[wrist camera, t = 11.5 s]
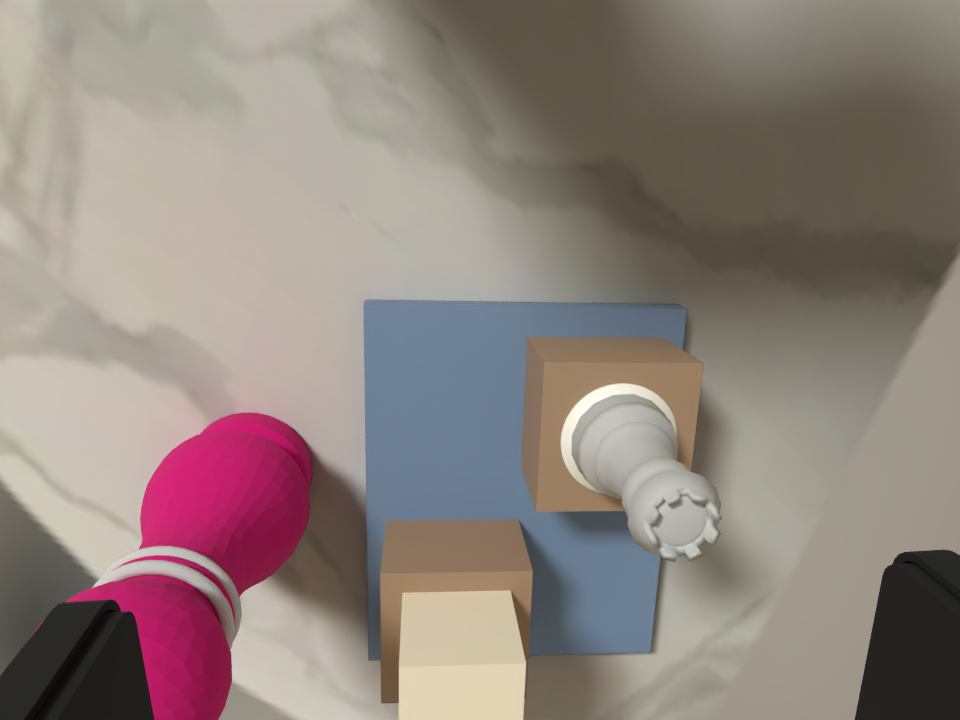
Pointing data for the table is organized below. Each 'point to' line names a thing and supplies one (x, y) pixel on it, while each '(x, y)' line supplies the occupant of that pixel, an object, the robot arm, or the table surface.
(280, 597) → the table surface
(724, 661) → the table surface
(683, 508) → the rook chess piece
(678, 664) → the table surface
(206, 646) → the pepper mill
